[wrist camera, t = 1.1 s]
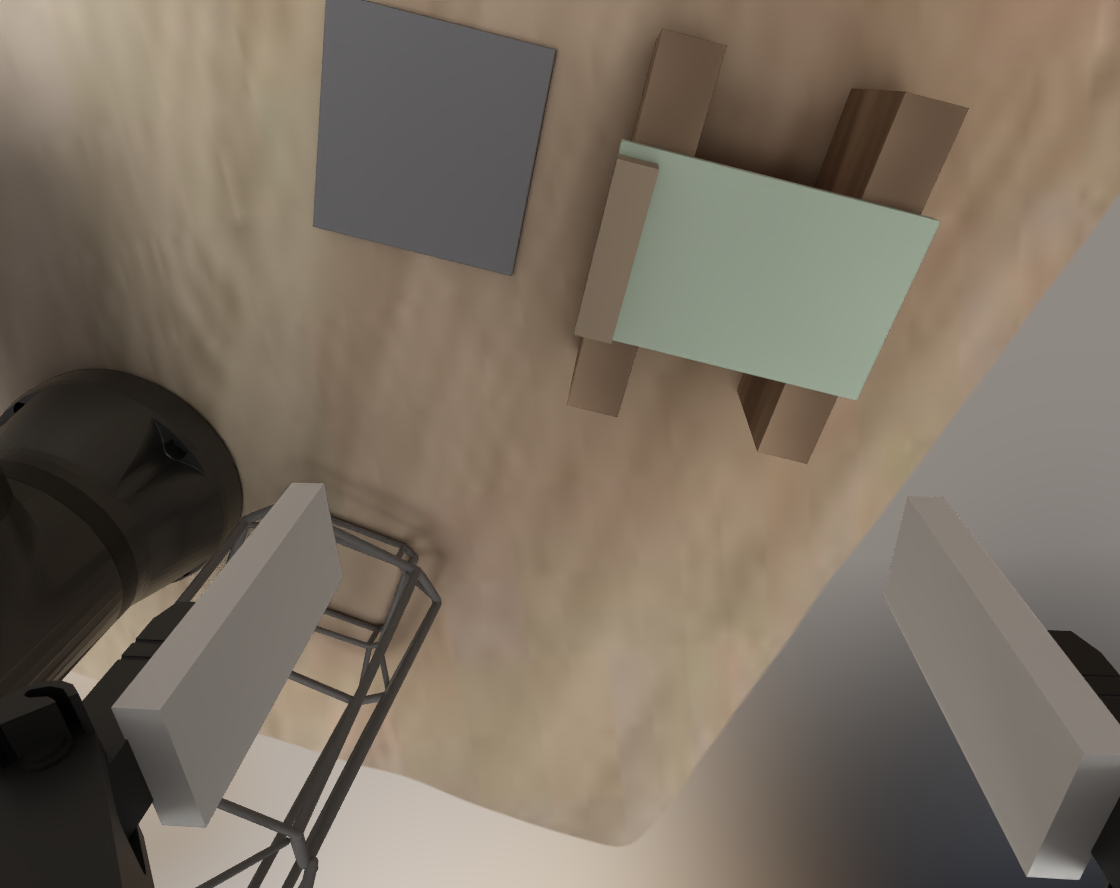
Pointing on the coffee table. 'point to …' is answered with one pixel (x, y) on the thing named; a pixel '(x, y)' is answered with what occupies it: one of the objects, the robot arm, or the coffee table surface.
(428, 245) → the mat
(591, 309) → the cover
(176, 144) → the coffee table surface
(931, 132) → the brown parallel walls
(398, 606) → the geometric lantern
